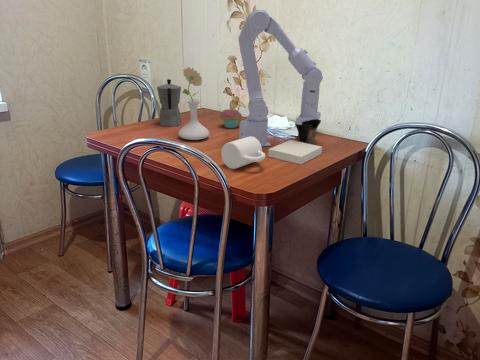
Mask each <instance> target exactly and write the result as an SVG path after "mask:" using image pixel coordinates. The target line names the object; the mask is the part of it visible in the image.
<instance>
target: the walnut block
mask: <svg viewBox="0 0 480 360" xmlns="http://www.w3.org/2000/svg"><path fill="white" fill-rule="evenodd" d="M316 136H317V129H316V128H313V127H310V130H309V132H308V137H307V141H306V143H307V144H312V145H316ZM297 141H298V142H300V139H299V133H297Z"/></svg>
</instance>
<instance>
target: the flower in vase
mask: <svg viewBox="0 0 480 360" xmlns="http://www.w3.org/2000/svg"><path fill="white" fill-rule="evenodd" d="M182 71H183V72H182V73H183V76H184V77H185V80H186V81H187V82H188V84H187V85H188V86H187V89H186V88H184V89H183V91H182V93H183V94H185V95H186V96H189V97H190V99H189V98H188V99H187V100H186V103H187V104H188V106H189V109H190V111H189V112H190V119H189V121H188V123H186V124H185V125H184V126H183V127H181V129H179V131H178V134H177V135H178V137H180V138H181V139H184V140H189V141H190V140H191V141H199V140H203V139H206V138H208V137H209V136H210V135H211V134H210V131H209V130H208V128H206V126H204V125H203V124H202V123H200V122H199V120H198V106H199V104H200V102H202V101H201V99H199V98H197V99H196V98H195V99H194V98H193V97H194V96H196V95H197V94H198V92H195V93H193V94H192V95H191V93H190V86H191V85H193V86H194V87H200V86H201V85H203V84H202V83H203V79H202V76H201V73H200V72H198V70H196V69H195V68H193V67H192V68H190V66H187V67H186V68H184V69H183V70H182Z"/></svg>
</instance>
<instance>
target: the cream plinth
mask: <svg viewBox="0 0 480 360" xmlns="http://www.w3.org/2000/svg"><path fill="white" fill-rule="evenodd" d="M322 151H323V146H320V145H316V144H315V145H312V144H307V143H303V142H298V140H293V139H290V140H288V141H285V142H282V143H280V144H278V145H275V146H272V147H271V148H268V152H267V153H268V155H267V156H268V157H270V158H273V159H277V160H281V161H286V162H288V163H293V164H297V165H300V166H301V165H303V164H305V163H307V162H309V161H310V160H312V159H314V158H317V157H319V156H320V155H322Z"/></svg>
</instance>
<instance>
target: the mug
mask: <svg viewBox="0 0 480 360" xmlns="http://www.w3.org/2000/svg"><path fill="white" fill-rule="evenodd" d="M220 155H221V160H222V162H223V163H224V165H225V166H226V167H227V168H228V169H232V170H237V169H239V168H241V167H244V166H247V165H249V164H252V163H255V162H257V163H258V162H262V161H264V160H265V159H266V153H265V152H263V146H261V144H260V142H259V141H258V140H257V139H256V138H255V137H252V136H249V137H246V138H242V139H235V140H232V141H230V142H226V143H224V145H223V146H222V147H221V154H220Z"/></svg>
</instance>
